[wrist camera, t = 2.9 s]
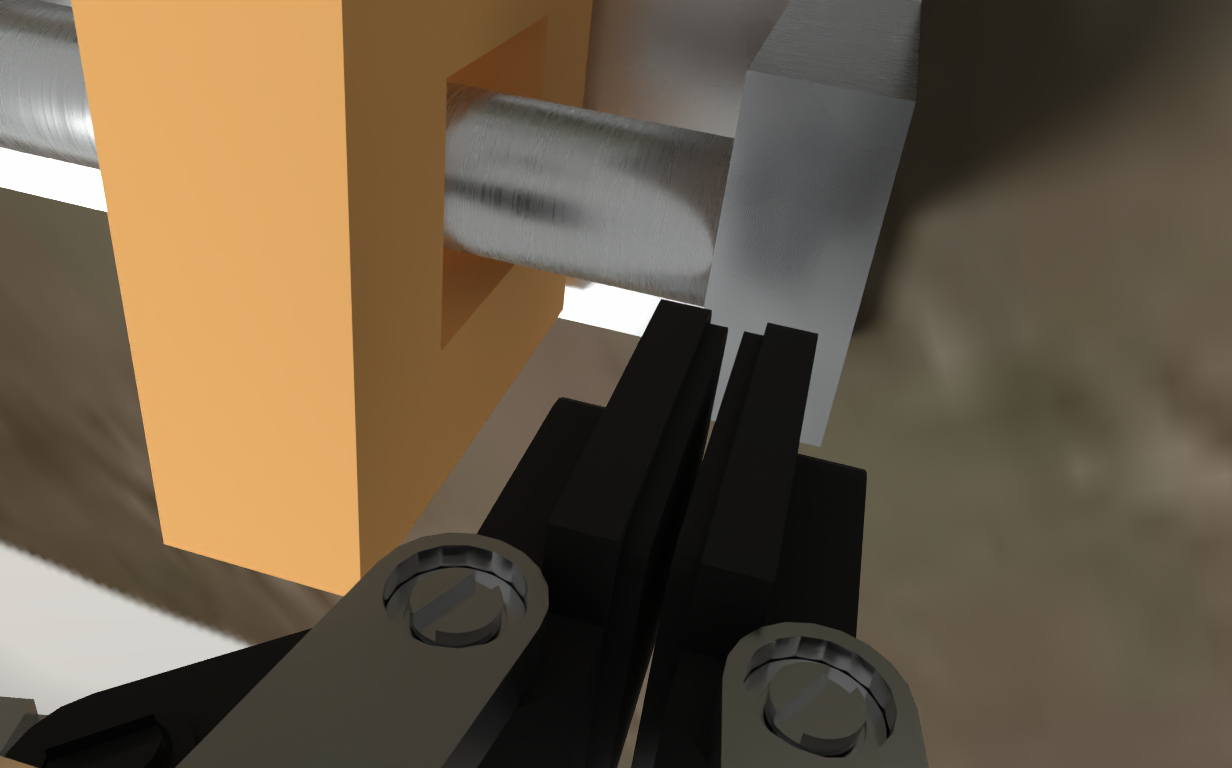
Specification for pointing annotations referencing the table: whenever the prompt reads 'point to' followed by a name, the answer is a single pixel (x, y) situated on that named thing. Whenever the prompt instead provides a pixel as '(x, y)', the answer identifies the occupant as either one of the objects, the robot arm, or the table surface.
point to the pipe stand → (623, 161)
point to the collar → (310, 258)
